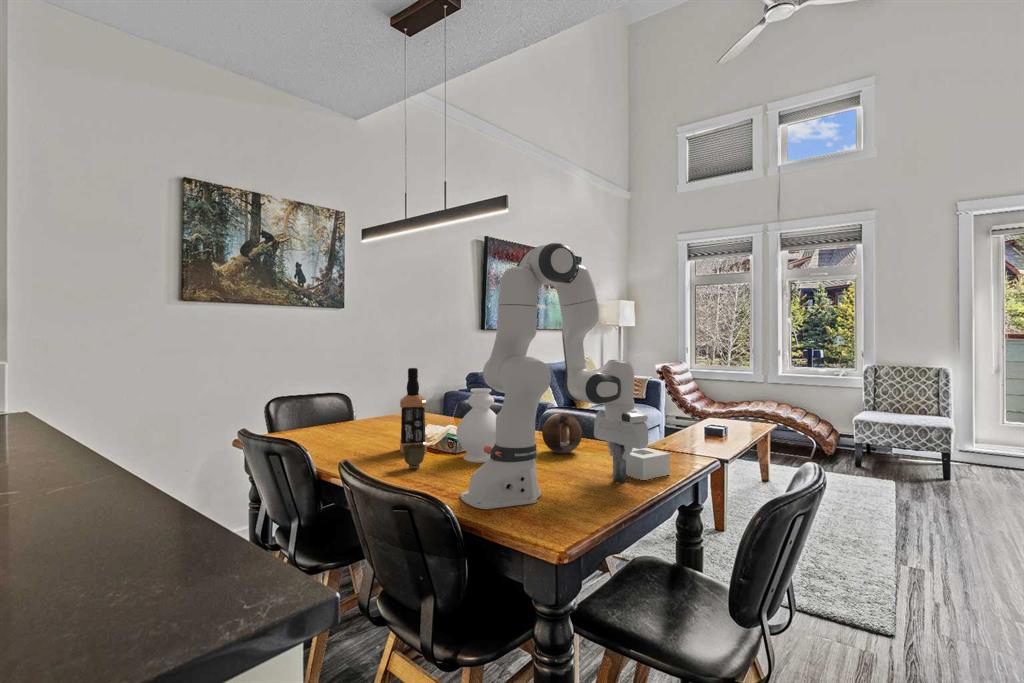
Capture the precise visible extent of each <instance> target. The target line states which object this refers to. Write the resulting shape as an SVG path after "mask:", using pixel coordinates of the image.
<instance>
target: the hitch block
mask: <svg viewBox="0 0 1024 683" xmlns="http://www.w3.org/2000/svg"><path fill="white" fill-rule="evenodd" d="M626 475H628V476H627V477H629V476H631V477H630V478H632V477H635V478H638V479H641V480H646V479H650V478H655V477H660V476H665V475H671V453H669V452H666V451H662V450H658V449H657V450H656V449H653V448H649V447H646V448H643V449H636V448H633V449H632V451H631V453H630V459H629V460H626ZM665 477H666V476H665ZM635 478H634V479H635ZM638 479H637V480H638ZM641 480H640V481H641Z"/></svg>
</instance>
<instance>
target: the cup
mask: <svg viewBox="0 0 1024 683" xmlns="http://www.w3.org/2000/svg"><path fill="white" fill-rule="evenodd" d="M424 453H425V446H424V444H422V443H420V444H418V443H417V445H415V444H414V443H413V444H411V443H410V445H408V444H407V446H406V445H405V444H404V445H403V454H404V455H403V459H404V462H405V463H406V464H407V465H408V467H407V468H408V469H409V470H412V471H415V470H418V469H420V466H421V465H420V464H422V463H423V461H424V458H425V454H426V453H425V454H424Z"/></svg>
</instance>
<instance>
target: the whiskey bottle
mask: <svg viewBox="0 0 1024 683" xmlns="http://www.w3.org/2000/svg"><path fill="white" fill-rule="evenodd" d="M418 371H419V369H418V368H417V367H409V368H408V369H407V379H408V380H407V382H406V383H407V384H406V394H405V395H404V396H403V397H402V398H400V400H399V403H400V404H399V408H401V416H400V417H401V418H400V419H401V421H400V423H401V425H400V428H401V429H400V431H401V432H400V440H399V455H401V456H402V455H403V456H404V454H403V445H404V444H405V445H406V446H407V444H408V445H410V443H411V444H413V443H414V444H415V445H417V443H418V444H420V443H422V444H424V446H425V453H424V455H425V454H427V453H428V451H427V450H428V448H427V440H426V416H425V415H426V414H425V413H426V412H425V408H426V407H427V401H426V398H424V397H423V396H422V395H420V393H419V392H420V383H419V379H418V377H419V376H418V374H419V372H418Z"/></svg>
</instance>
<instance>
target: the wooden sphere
mask: <svg viewBox="0 0 1024 683" xmlns="http://www.w3.org/2000/svg"><path fill="white" fill-rule="evenodd" d="M541 432H542V435H541V436H542V440H543V443H544V444H545V445H546V447H547V448H548V449H549V450H550V451H552V452H553V453H557V454H568V453H570V452H572V451H573V452H574V450H576V449H577V447H579V445H580V443H581V441H582V437H583V430H582V426H581V424H580V422H579V420H577V418H576V417H575V416H573V415H571V414H568V413H564V412H561V413H560V412H559V413H555V414H552V415H551V416H549V417H548V418H547V420H545V422H544V424H543V427H542V431H541Z"/></svg>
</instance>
